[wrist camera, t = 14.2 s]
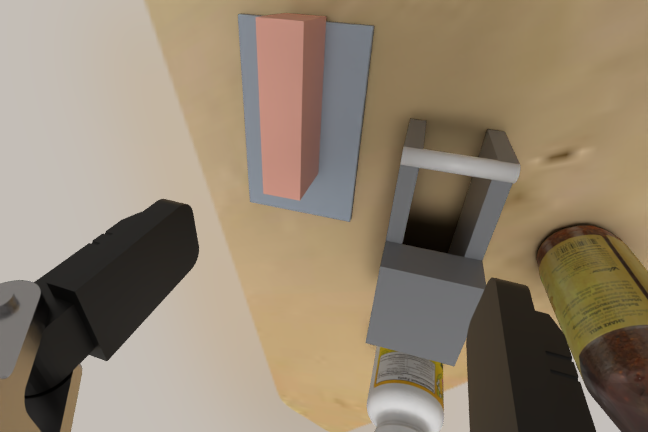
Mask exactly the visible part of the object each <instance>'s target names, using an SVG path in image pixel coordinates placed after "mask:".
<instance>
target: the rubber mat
mask: <svg viewBox="0 0 648 432" xmlns="http://www.w3.org/2000/svg"><path fill="white" fill-rule="evenodd" d="M259 16H261V15H250V14H238V24H239V39H240V55H241V70H242V85H243V101H244V116H245V132H246V147H247V162H248V178H249V193H250V202H253V203H258V204H263V205H268V206H273V207H278V208H283V209H288V210H293V211H298V212H303V213H308V214H313V215H318V216H323V217H328V218H333V219H338V220H343V221H348V222H350V220H351V217H352V208H353V200H354V192H355V183H356V175H357V167H358V158H359V150H360V141H361V133H362V125H363V116H364V108H365V100H366V91H367V83H368V75H369V66H370V58H371V50H372V41H373V33H374V26H372V25H361V24H350V23H338V22H327V21H326V34H325V53H324V73H323V93H322V112H321V132H320V152H319V171H318V175H317V176H316V178H315V179H314V181H313V182H312V184H311V185H310V187H309V188H308V190H307V191H306V193H305V194H304V196H303V197H302V198H301V200H300V201H299V200H294V199H288V198H283V197H278V196H273V195H267V194H263V176H262V154H261V131H260V108H259V86H258V63H257V41H256V18H255V17H259Z"/></svg>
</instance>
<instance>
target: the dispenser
mask: <svg viewBox="0 0 648 432" xmlns="http://www.w3.org/2000/svg"><path fill="white" fill-rule="evenodd" d="M425 129H426V121H424V120H417V119H410V122H409V127H408V131H407V135H406V139H405V144H404V148H403V153H402V158H401V163H400V169H399V174H398V180H397V185H396V190H395V195H394V201H393V206H392V211H391V216H390V221H389V227H388V232H387V237H386V242H385V247H384V251H383V256H382V260H381V265H380V270H379V275H378V281H377V286H376V291H375V296H374V302H373V307H372V312H371V318H370V323H369V328H368V333H367V339H366V343H368V344H372V345H376V346H379V347H383V348H387V349H391V350H395V351H398V352H402V353H406V354H410V355H413V356H417V357H421V358H425V359H428V360H432V361H436V362H440V363H444V364H447V365H451V366H455V363H456V361H457V359H458V356H459V354H460V352H461V349H462V347H463V345H464V342H465V340H466V338H467V333H468V328H469V324H470V321H471V318H472V316H473V314H474V312H475V309H476V307H477V305H478V303H479V301H480V298H481V296H482V294H483V292H484V289H485V287H486V282H485V275H484V269H483V263H482V260H483V257H484V255H485V252H486V250H487V247H488V245H489V242H490V240H491V237H492V234H493V232H494V229H495V227H496V224H497V222H498V219H499V217H500V214H501V211H502V209H503V206H504V204H505V201H506V199H507V196H508V194H509V191H510V188H511V186H512V183H515V182H516V181H517V179H518V177H519V174H520V163H519V161H518V159H517V157H516V155H515V152H514V150H513V148H512V146H511V144H510V142H509V140H508V137H507V135H506V133H505V132H504V131H496V130H489V129H487V132H486V135H485V139H484V142H483V145H482V148H481V151H480V154H479V157H474V156H467V155H461V154H454V153H448V152H441V151H435V150H428V149H423V148H424V139H425ZM419 168H423V169H429V170H435V171H442V172H448V173H454V174H460V175H466V176H472V179H471V183H470V186H469V189H468V192H467V195H466V198H465V201H464V205H463V208H462V211H461V214H460V217H459V220H458V223H457V227H456V230H455V233H454V236H453V239H452V242H451V245H450V249H449V252H448V254H447V253H442V252H438V251H433V250H428V249H423V248H418V247H413V246H409V245H404V244H402V242H403V238H404V233H405V229H406V225H407V220H408V216H409V211H410V207H411V202H412V198H413V193H414V189H415V184H416V180H417V175H418V171H419Z"/></svg>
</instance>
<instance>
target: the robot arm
mask: <svg viewBox="0 0 648 432" xmlns="http://www.w3.org/2000/svg"><path fill="white" fill-rule="evenodd" d="M198 254H199V245H198V239H197V233H196V228H195V221H194V216H193V211H192V208H191V207H190V206H189V205H187V204H183V203H179V202H175V201H171V200H166V199H161V200H158V201H157V202H155V203H154V204H153V205H151V206H150V207H149V208H147V209H146V210H144V211H143V212H140V213H137V214H135V215H133V216H130V217H128V218H125V219H123V220H121V221H120V222H118V223H117V224H115V225H114V226H113V227H111V228H110V229H108V230H107V231H106V233H105V234H101V235H100V236H99V237H97V238H96V239H94V240H93V242H92V244H90V243H89V244H87V245H86V246H85V247H83V248H82V249H80V250H79V251H78V252H76V253H75V254H73V255H72V256H71V257H69V258H68V259H66V260H65V261H64V262H62V263H61V264H59V265H58V266H57V267H55V268H54V269H52V270H51V271H50V272H48V273H47V274H45V275H44V276H43V277H41V278H40V279H38V280H37V281H35V282H34V283H33V282H30V281H24V280H16V281H9V282H4V283H1V284H0V432H71V427H72V423H73V417H74V412H75V407H76V402H77V397H78V391H79V386H80V381H81V376H82V366H81V364H80V363H81V362H82V361H83V360H84V359H85V358H86V357H87V356H88V355H91V356H94V357H97V358H100V359H102V360H105V361H108V360H109V359H110V358H111V356H112V355H113V354H114V353H115V352H116V351H117V350H118V349H119V348H120V347H121V346H122V344H123V343H124V342H125V341H126V340H127V339H128V338H129V337H130V336H131V334H133V332H134V331H135V330H136V329H137V328H138V327H139V326H140V325H141V324H142V322H143V321H144V320H145V319H146V318H147V317H148V316H149V315H150V314H151V313H152V311H154V309H155V308H156V307H157V306H158V305H159V304H160V303H161V302H162V301H163V299H165V297H166V296H167V295H168V294H169V293H170V292H171V291H172V290H173V289H174V287H175V286H176V285H177V284H178V283H179V282H180V281H181V280H182V279H183V278H184V277H185V275H186V274H187V273H188V272H189V271H190V270H191V269H192V268H193V266H194V264H195V263H196V261H197V258H198ZM466 348H467V372H468V393H469V395H468V396H469V418H470V432H596V430H595V426H594V423H593V420H592V417H591V414H590V411H589V408H588V405H587V402H586V399H585V396H584V393H583V390H582V386H581V383H580V382H578V374H577V371H576V368H575V365H574V362H572V356H571V352H570V349H569V346H568V343H567V340H566V337H565V335H564V333H563V332H562V331H561V330H560V328H559V327H558V326H557V324H556V323H555V322H554V320H553V319H552V318H551V317H550V315H549V314H546V313H542V312H538V311H535V309H534V305H533V302H532V298H531V294H530V290H529V288H528V287H527V286H526V285H522V284H518V283H514V282H509V281H505V280H501V279H497V278H491V279H490V280H489V281H488V283H487V285H486V287H485V289H484V292H483V294H482V296H481V298H480V301H479V303H478V305H477V307H476V309H475V312H474V314H473V316H472V318H471V321H470V324H469V328H468V333H467V342H466Z"/></svg>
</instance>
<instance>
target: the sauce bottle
mask: <svg viewBox="0 0 648 432" xmlns="http://www.w3.org/2000/svg"><path fill="white" fill-rule="evenodd" d="M537 262H538V266H539V275H540V278H541V280H542V283H543V285H544V288H545V290H546V293H547V295H548V298H549V300H550V303H551V305H552V307H553V310H554V312H555V314H556V317H557V319H558V322H559V324H560V327H561V329H562V332H563V333H564V335H565V337H566V340H567V343H568V346H569V348H570V350H571V353H572V355H573V357H574V360H575V362H576V365H577V368H578V370H579V372H580V374H581V376H582V379H583V381H584V383H585V386H586V388H587V390H588V391H589V393H590V394H591V396H592V397H593V398H594V399H595V401H596V402H597V403H598V404H599V405H600V406H601V408H602V409H603V410H604V411H605V413H606V414H607V415H608V416H609V417H610V419H611V420H612V421H613V422H614V424H615V425H616V426H617V427H618V428H619V429H620V431H621V432H648V271H647V270H646V269H645V267H644V266H643V265H642V264H641V262H640V261H639V260H638V259H637V258H636V256H635V255H634V254H633V253H632V251H631V250H630V249H629V248H628V246H627V245H626V244H624V243H623V242H622V240H621V239H619V238H618V237H616V236H615V235H613V234H612V233H611V232H608V231H606V230H604V229H602V228H598V227H596V226H592V225H578V226H573V227H570V228H565V229H562V230H560V231H558V232H555V233H554V234H552V235H551V236H549V237H548V238H547V239H546V240H545V241H544V242H543V243H542V244H541V247H540V248H539V250H538V253H537Z"/></svg>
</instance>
